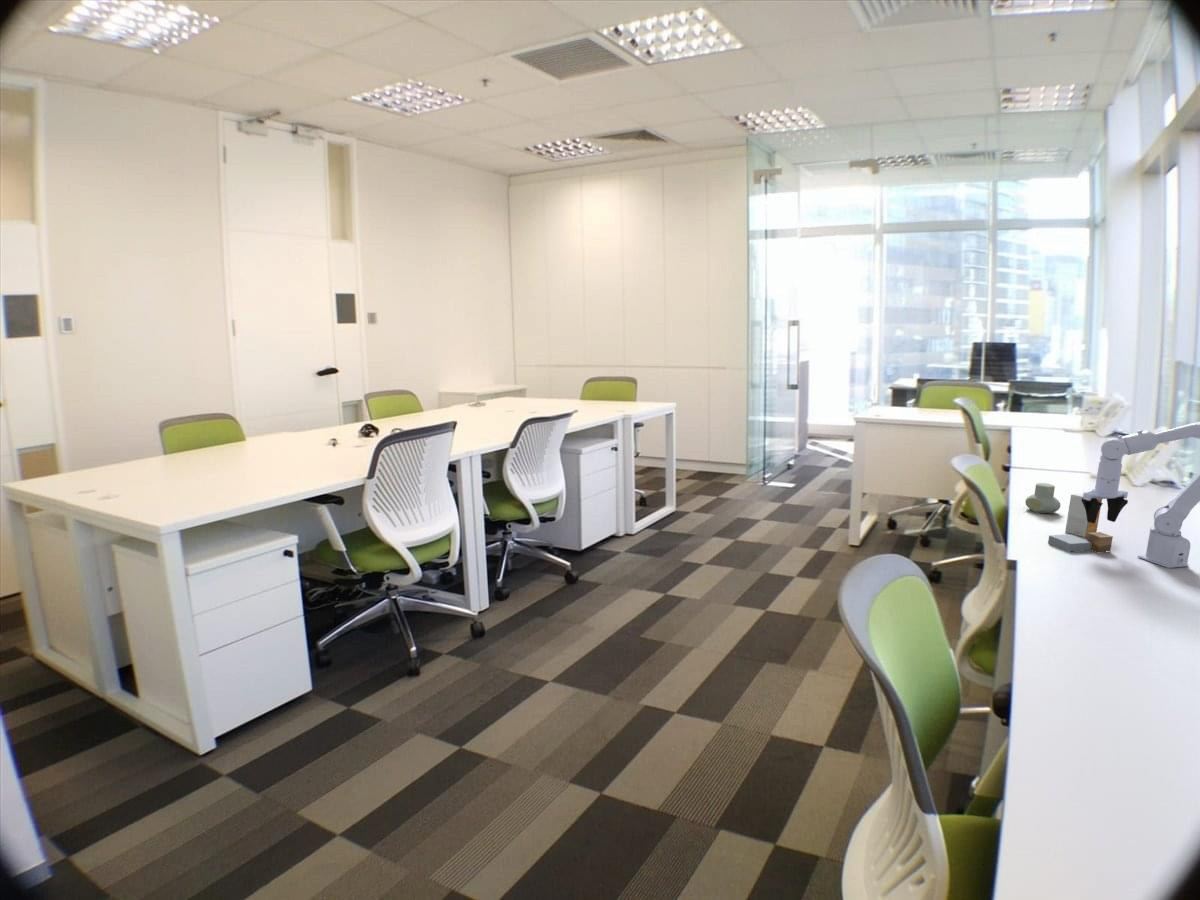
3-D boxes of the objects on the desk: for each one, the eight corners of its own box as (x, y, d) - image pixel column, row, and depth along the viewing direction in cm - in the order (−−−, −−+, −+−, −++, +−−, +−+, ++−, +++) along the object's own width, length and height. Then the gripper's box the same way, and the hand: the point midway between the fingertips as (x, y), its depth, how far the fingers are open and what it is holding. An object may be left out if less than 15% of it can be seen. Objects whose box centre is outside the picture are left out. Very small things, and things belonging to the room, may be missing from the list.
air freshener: (1063, 514, 261) (1067, 487, 259) (1047, 516, 258) (1051, 489, 256) (1035, 506, 271) (1039, 480, 269) (1020, 508, 268) (1023, 482, 266)
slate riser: (1090, 551, 223) (1092, 542, 223) (1069, 553, 221) (1070, 543, 221) (1068, 543, 231) (1070, 534, 230) (1047, 544, 229) (1049, 535, 228)
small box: (1085, 537, 235) (1091, 498, 233) (1064, 532, 241) (1070, 494, 238) (1097, 533, 240) (1103, 495, 237) (1076, 528, 245) (1082, 491, 242)
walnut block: (1110, 552, 222) (1112, 536, 221) (1097, 553, 221) (1100, 537, 220) (1097, 547, 226) (1099, 531, 225) (1085, 548, 225) (1087, 532, 224)
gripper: (1115, 474, 225) (1108, 516, 227) (1077, 476, 221) (1070, 519, 224) (1136, 479, 218) (1129, 523, 221) (1097, 481, 214) (1090, 525, 217)
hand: (1101, 521), depth 222 cm, fingers open, 7 cm apart
